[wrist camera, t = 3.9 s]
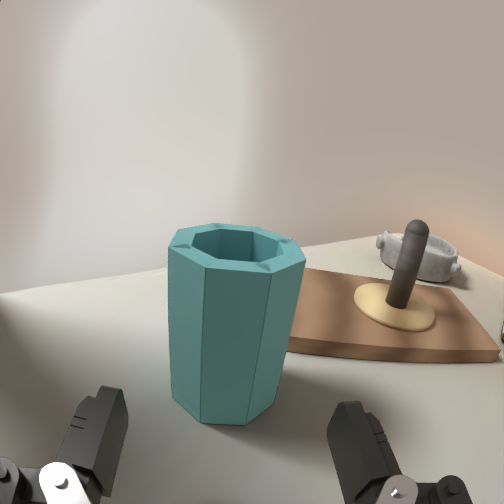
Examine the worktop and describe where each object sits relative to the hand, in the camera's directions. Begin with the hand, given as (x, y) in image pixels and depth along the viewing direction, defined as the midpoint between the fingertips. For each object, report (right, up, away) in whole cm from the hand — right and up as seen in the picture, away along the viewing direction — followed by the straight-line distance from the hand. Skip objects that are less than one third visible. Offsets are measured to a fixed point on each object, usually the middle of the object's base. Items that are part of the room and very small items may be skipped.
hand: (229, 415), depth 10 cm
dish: (+28, +3, +35) cm, 45 cm away
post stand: (+15, -1, +19) cm, 24 cm away
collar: (-1, -3, +9) cm, 9 cm away
